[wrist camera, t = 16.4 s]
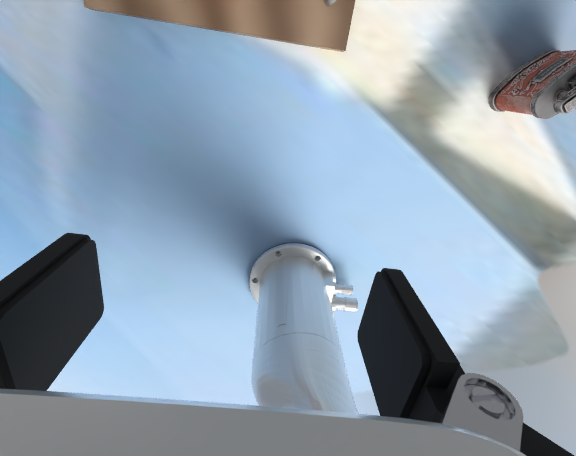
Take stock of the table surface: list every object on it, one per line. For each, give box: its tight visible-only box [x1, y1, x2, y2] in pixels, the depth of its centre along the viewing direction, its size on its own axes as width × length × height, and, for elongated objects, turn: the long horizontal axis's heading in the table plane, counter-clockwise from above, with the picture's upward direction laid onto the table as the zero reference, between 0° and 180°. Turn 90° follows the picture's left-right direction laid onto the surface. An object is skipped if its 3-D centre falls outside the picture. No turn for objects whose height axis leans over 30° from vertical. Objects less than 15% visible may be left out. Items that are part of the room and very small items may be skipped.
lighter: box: [489, 50, 576, 119], centre depth 32 cm, size 8×3×10 cm, turn 131°
